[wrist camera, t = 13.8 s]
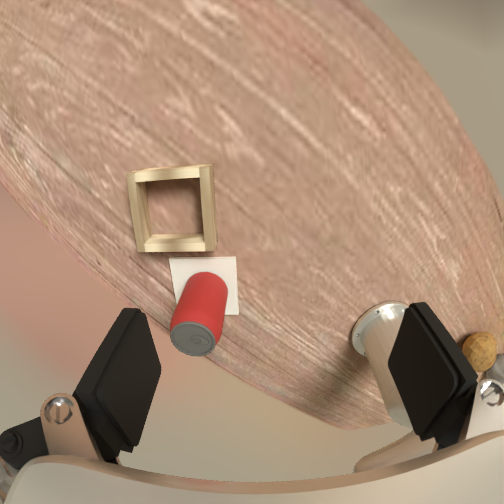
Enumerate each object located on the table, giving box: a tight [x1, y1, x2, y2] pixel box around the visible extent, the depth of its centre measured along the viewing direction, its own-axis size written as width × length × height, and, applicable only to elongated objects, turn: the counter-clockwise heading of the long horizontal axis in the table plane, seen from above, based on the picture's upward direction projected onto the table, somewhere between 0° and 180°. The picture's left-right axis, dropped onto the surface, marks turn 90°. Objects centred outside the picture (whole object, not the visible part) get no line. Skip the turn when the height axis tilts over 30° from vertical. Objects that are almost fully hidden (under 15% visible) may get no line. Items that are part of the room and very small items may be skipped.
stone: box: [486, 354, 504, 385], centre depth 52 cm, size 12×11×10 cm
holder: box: [126, 164, 218, 252], centre depth 37 cm, size 11×11×4 cm
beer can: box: [170, 272, 228, 356], centre depth 38 cm, size 7×7×12 cm
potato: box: [462, 332, 496, 372], centre depth 46 cm, size 10×14×8 cm
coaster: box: [169, 257, 239, 315], centre depth 44 cm, size 10×10×1 cm
